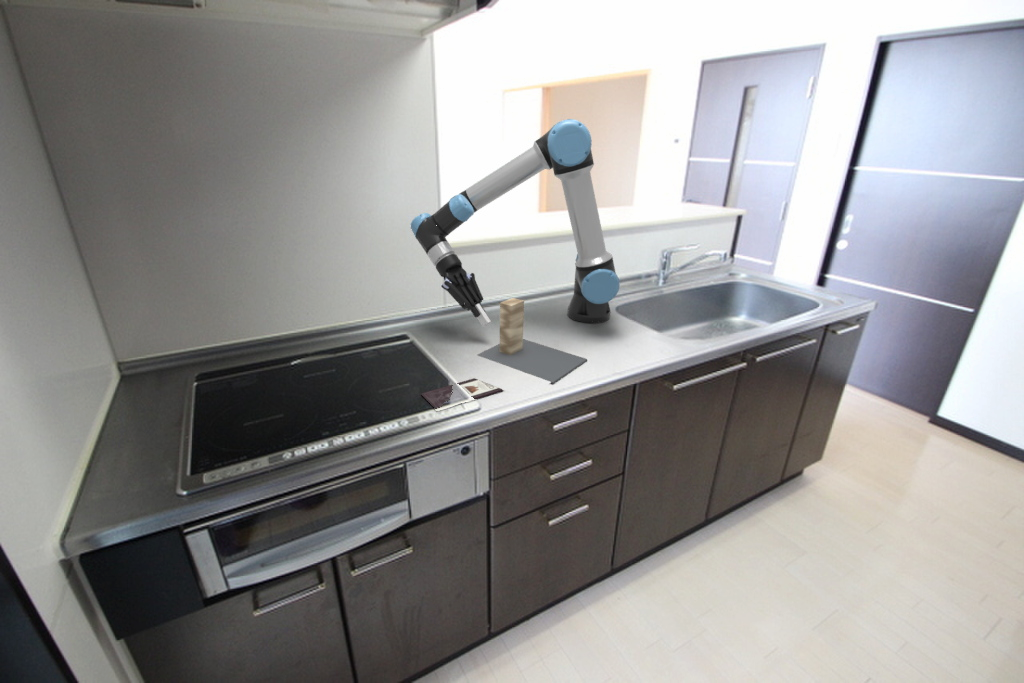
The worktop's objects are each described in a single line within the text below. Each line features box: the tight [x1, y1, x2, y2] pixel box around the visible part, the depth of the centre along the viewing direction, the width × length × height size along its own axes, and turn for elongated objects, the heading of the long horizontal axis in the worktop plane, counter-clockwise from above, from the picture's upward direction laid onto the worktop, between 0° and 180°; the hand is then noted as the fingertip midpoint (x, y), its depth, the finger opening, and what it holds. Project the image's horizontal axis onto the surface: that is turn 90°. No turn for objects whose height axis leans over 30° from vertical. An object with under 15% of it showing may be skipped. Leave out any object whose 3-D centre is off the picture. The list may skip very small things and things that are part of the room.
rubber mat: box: [477, 338, 588, 385], centre depth 137 cm, size 26×18×1 cm
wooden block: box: [499, 297, 525, 355], centre depth 137 cm, size 4×6×15 cm, turn 143°
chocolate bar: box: [420, 377, 504, 409], centre depth 118 cm, size 9×1×18 cm
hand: (486, 324), depth 143 cm, fingers closed
